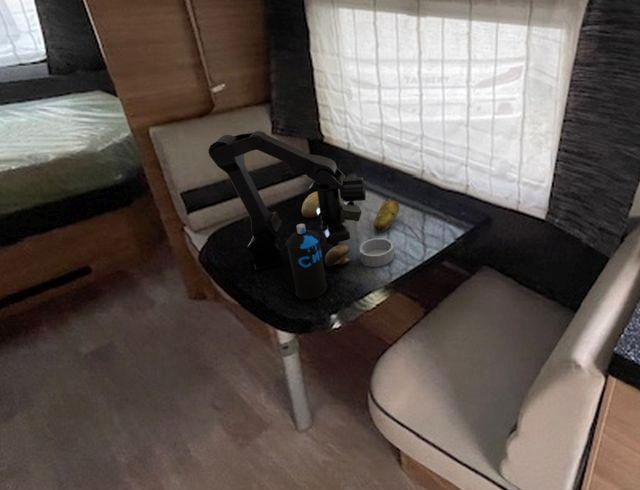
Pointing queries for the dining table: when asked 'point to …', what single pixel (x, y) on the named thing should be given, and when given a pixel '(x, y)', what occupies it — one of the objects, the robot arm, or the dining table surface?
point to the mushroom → (337, 255)
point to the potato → (386, 215)
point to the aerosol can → (306, 263)
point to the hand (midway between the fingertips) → (335, 247)
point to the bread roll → (311, 205)
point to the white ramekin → (376, 252)
